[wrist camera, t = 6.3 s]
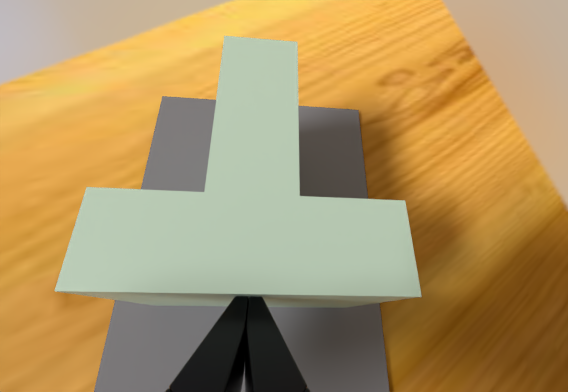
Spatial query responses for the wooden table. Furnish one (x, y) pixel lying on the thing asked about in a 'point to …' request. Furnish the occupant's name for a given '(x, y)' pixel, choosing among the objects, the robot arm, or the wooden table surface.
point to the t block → (243, 215)
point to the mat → (290, 320)
